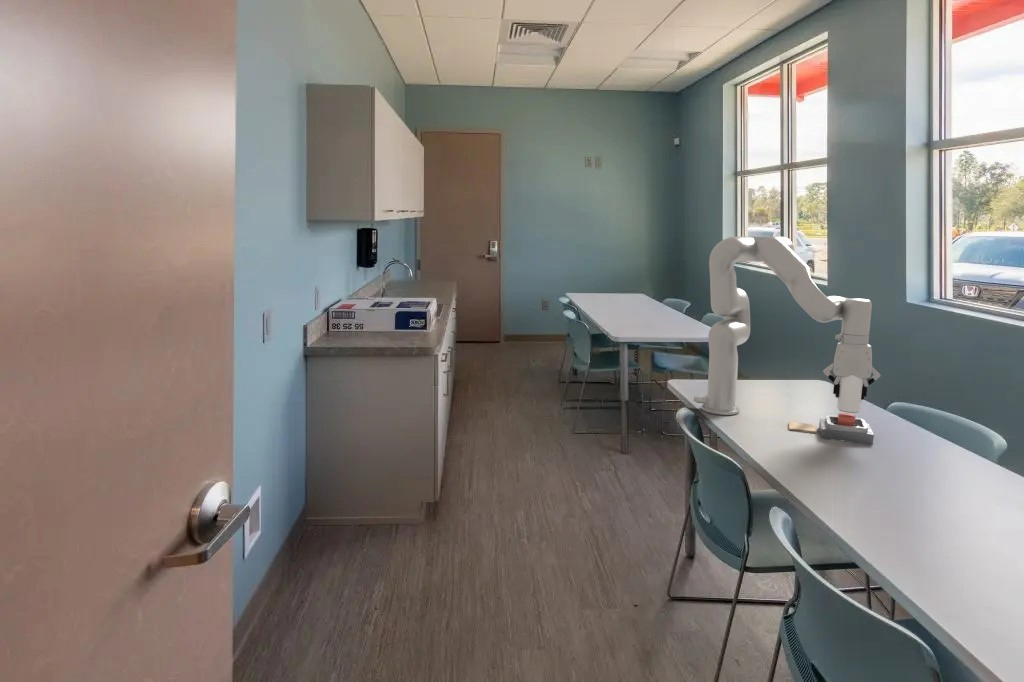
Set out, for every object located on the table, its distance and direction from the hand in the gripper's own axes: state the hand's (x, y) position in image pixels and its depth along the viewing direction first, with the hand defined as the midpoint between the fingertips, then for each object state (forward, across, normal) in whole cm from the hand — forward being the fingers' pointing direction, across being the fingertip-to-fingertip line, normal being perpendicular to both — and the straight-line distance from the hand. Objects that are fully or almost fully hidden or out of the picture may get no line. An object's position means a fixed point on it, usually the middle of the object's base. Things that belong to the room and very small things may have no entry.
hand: (849, 397), depth 203 cm
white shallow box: (+12, 0, 0) cm, 12 cm away
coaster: (+12, -12, +3) cm, 18 cm away
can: (+4, 0, 0) cm, 4 cm away
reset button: (+9, 0, 0) cm, 9 cm away
